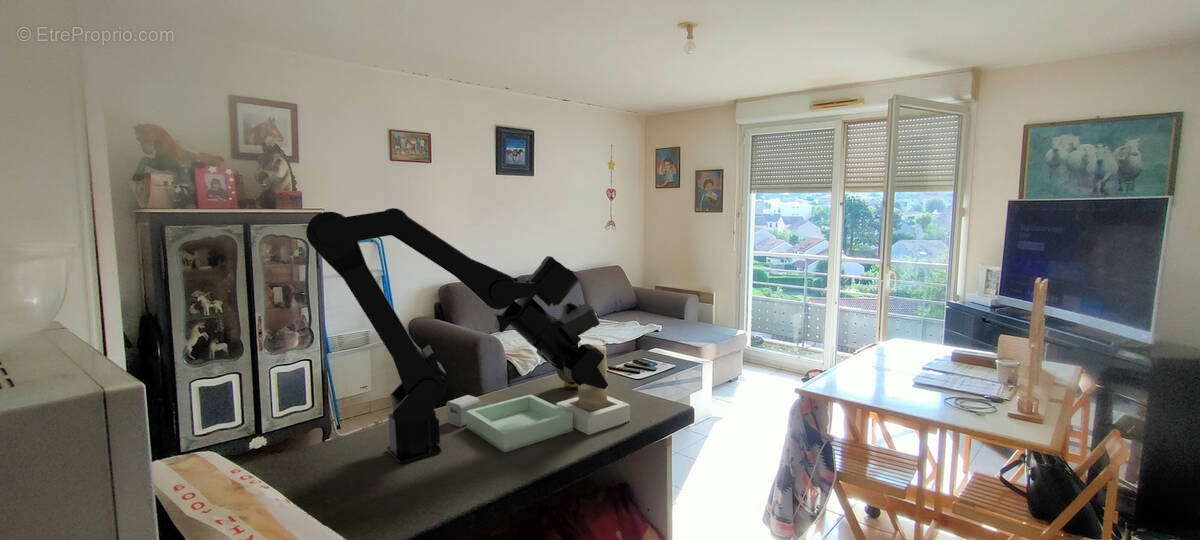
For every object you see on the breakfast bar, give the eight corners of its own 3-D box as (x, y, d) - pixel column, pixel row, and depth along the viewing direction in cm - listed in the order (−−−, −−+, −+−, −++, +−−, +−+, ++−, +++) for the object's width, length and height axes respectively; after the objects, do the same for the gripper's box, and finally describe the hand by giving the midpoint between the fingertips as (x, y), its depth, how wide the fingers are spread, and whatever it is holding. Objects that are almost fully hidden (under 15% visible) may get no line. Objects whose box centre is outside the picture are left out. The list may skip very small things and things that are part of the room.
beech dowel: (590, 427, 95) (589, 353, 93) (573, 419, 98) (571, 347, 97) (613, 420, 98) (612, 348, 96) (595, 412, 102) (594, 343, 100)
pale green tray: (504, 452, 85) (504, 433, 85) (466, 427, 95) (466, 410, 95) (572, 430, 94) (572, 413, 93) (531, 410, 104) (531, 394, 103)
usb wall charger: (447, 422, 98) (446, 400, 98) (477, 411, 104) (476, 390, 103) (461, 427, 96) (461, 405, 95) (492, 415, 101) (491, 394, 101)
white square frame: (588, 434, 92) (588, 417, 91) (556, 419, 99) (556, 402, 98) (629, 421, 97) (629, 404, 97) (597, 407, 105) (596, 391, 104)
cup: (549, 385, 118) (548, 348, 117) (581, 380, 121) (581, 344, 120) (562, 395, 111) (561, 356, 111) (595, 390, 114) (595, 352, 114)
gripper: (591, 298, 86) (654, 359, 91) (551, 284, 103) (606, 336, 108) (543, 354, 83) (611, 414, 89) (510, 330, 100) (569, 381, 106)
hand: (599, 382), depth 98 cm, fingers closed on beech dowel, 5 cm apart
